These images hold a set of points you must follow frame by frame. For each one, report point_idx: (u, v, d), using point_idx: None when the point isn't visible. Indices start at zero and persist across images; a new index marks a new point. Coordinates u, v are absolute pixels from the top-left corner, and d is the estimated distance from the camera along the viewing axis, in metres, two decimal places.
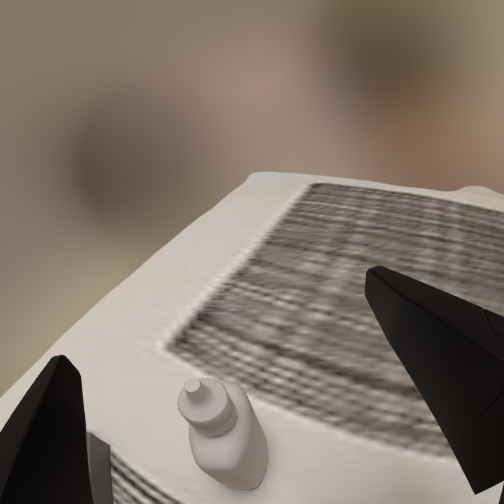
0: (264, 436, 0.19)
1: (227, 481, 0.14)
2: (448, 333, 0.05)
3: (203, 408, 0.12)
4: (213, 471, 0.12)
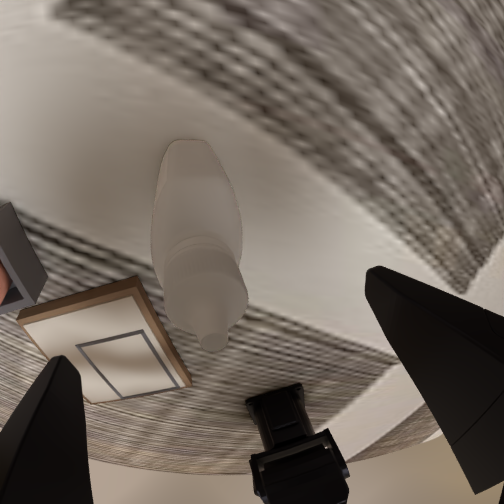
0: None
1: None
2: (448, 333, 0.05)
3: None
4: None
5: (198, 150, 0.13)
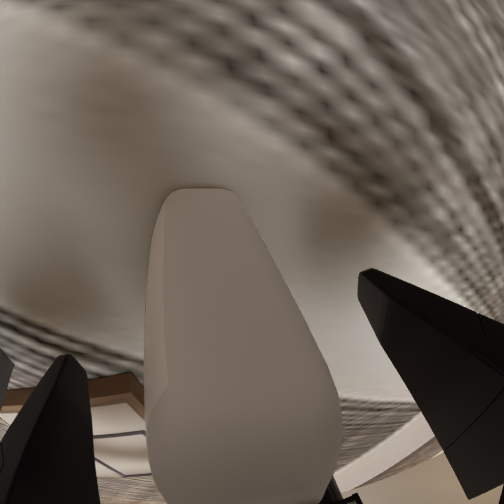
0: None
1: None
2: (440, 338, 0.05)
3: None
4: None
5: (227, 232, 0.06)
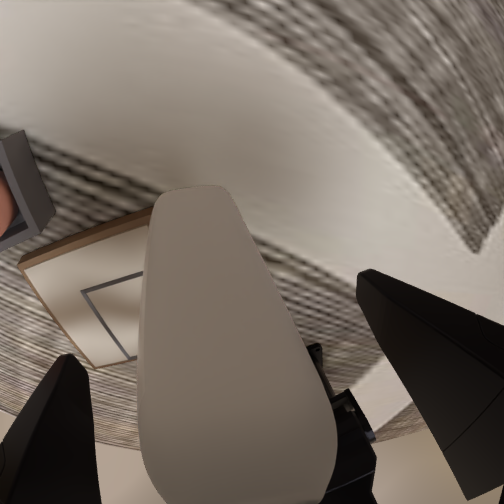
0: None
1: None
2: (438, 339, 0.05)
3: None
4: None
5: (210, 229, 0.06)
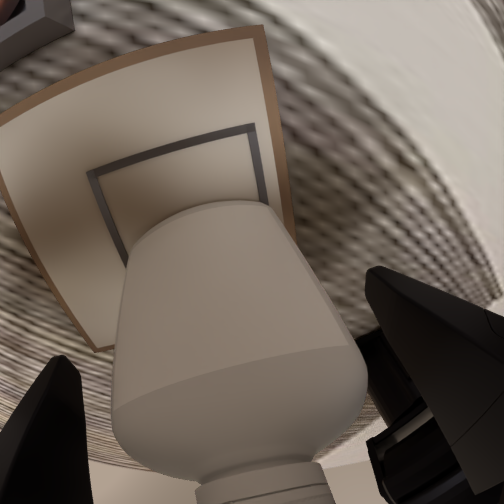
0: None
1: None
2: (448, 333, 0.05)
3: None
4: None
5: None
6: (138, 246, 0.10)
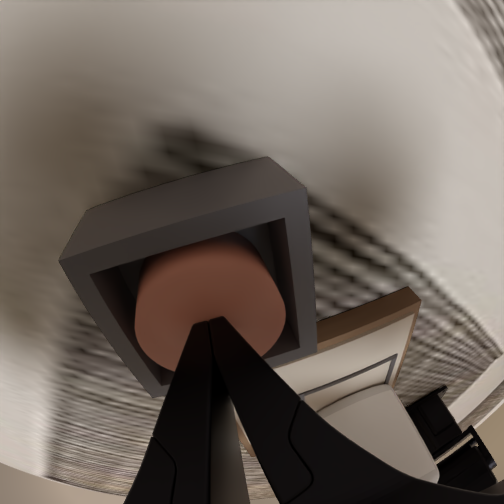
0: None
1: None
2: None
3: None
4: None
5: None
6: None
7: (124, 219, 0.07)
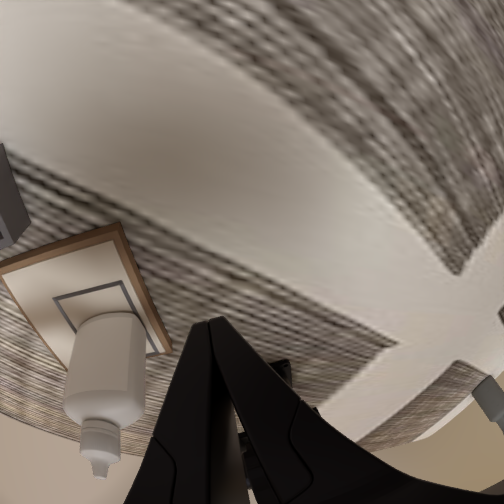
0: None
1: None
2: None
3: None
4: None
5: (142, 358, 0.19)
6: (79, 331, 0.19)
7: None
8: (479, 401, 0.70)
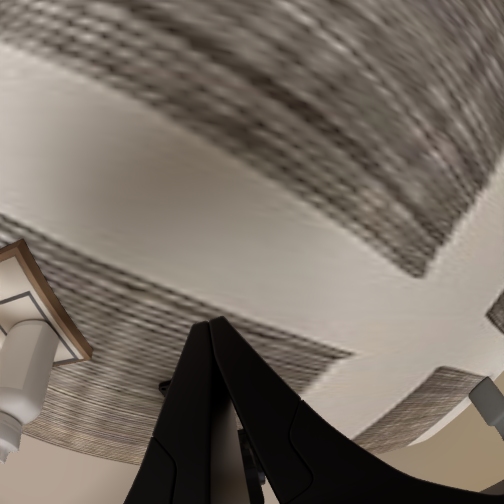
0: None
1: None
2: None
3: None
4: None
5: (47, 362, 0.17)
6: (6, 336, 0.18)
7: None
8: (476, 404, 0.67)
